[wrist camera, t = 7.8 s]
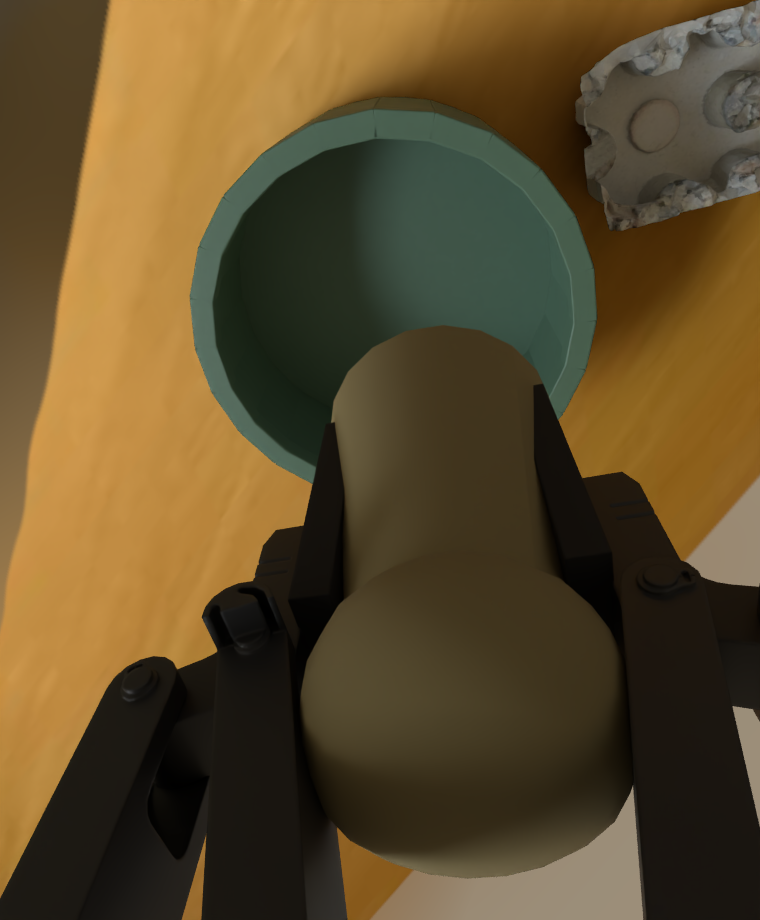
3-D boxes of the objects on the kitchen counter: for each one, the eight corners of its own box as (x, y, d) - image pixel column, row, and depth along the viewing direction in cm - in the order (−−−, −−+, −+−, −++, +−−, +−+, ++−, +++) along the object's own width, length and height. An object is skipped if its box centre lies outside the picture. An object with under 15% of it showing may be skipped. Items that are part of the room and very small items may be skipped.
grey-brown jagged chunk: (583, 221, 34) (602, 241, 31) (563, 54, 30) (583, 55, 27) (810, 162, 32) (858, 176, 29) (818, -23, 29) (875, -33, 25)
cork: (415, 552, 21) (422, 969, 11) (284, 410, 18) (155, 788, 9) (593, 451, 19) (781, 858, 9) (471, 276, 16) (559, 584, 7)
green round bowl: (184, 144, 33) (125, 169, 26) (543, 55, 30) (582, 57, 24) (285, 446, 41) (261, 524, 35) (571, 395, 39) (606, 468, 32)
